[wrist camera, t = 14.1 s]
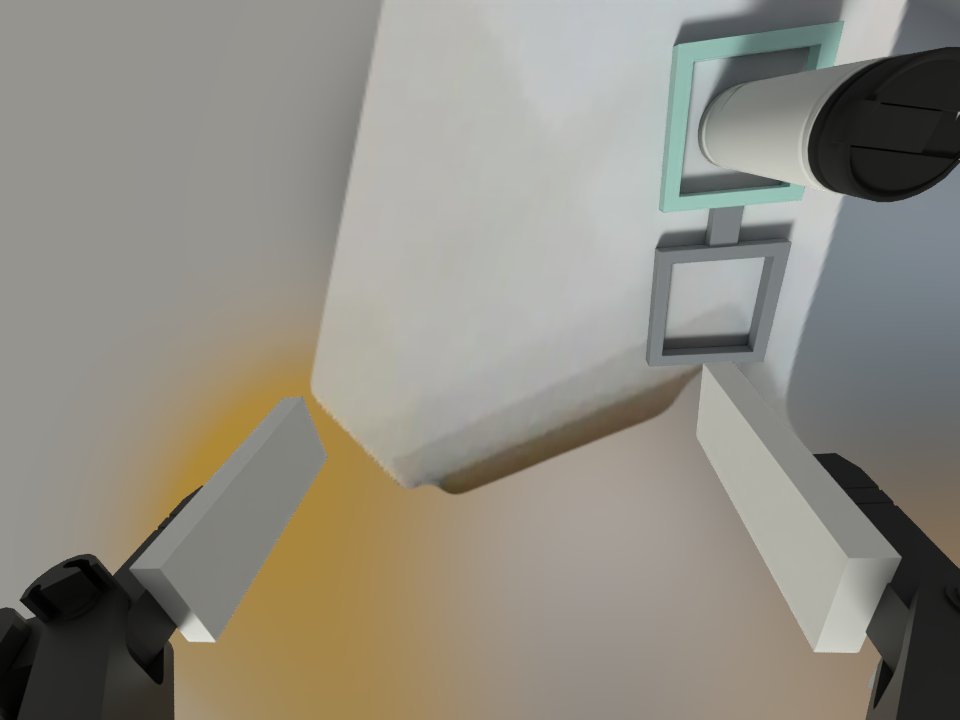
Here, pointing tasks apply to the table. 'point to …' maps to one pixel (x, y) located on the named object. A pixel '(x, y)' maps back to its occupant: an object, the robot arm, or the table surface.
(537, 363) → the table surface
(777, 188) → the frame
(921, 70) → the travel mug
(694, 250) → the frame
